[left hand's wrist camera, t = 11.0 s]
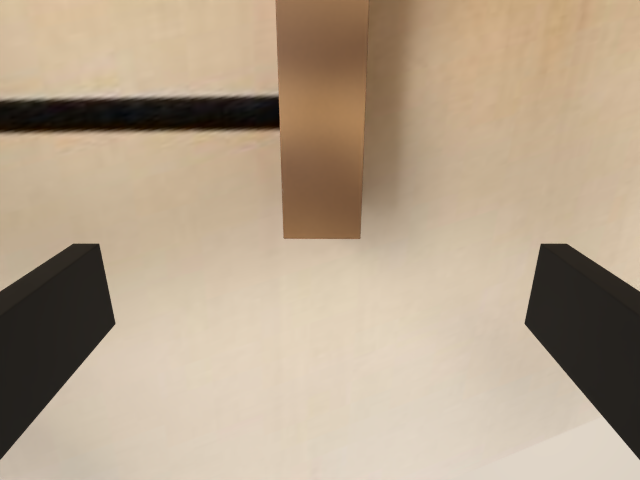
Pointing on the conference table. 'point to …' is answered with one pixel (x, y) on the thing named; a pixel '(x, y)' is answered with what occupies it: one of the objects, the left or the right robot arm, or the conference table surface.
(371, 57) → the conference table surface
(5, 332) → the left robot arm
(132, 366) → the conference table surface
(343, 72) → the beam
